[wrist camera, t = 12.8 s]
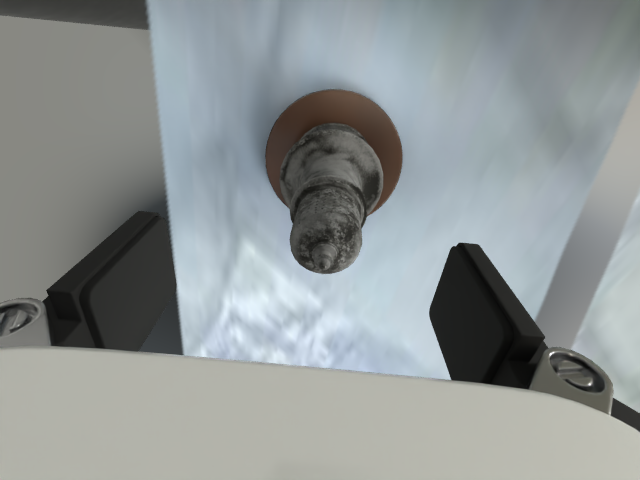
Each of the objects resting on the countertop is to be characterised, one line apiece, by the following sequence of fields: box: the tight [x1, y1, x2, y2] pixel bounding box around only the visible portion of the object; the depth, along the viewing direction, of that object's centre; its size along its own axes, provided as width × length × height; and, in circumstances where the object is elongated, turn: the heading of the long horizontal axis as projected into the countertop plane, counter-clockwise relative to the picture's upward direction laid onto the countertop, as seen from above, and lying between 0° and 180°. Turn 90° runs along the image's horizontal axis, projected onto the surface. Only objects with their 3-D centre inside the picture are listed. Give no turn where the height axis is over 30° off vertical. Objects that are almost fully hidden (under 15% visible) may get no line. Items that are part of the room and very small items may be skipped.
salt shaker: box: [279, 123, 383, 274], centre depth 17 cm, size 6×6×12 cm
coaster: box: [265, 89, 402, 216], centre depth 22 cm, size 9×9×1 cm
